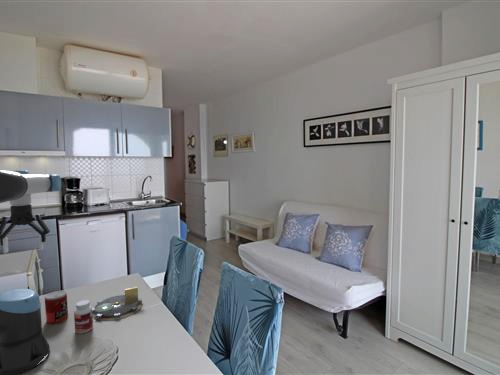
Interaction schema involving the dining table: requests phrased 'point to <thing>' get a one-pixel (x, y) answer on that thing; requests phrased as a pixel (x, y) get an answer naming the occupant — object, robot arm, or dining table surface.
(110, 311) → the sprocket
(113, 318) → the base
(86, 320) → the pill bottle
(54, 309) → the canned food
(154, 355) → the dining table surface
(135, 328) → the dining table surface
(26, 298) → the robot arm
